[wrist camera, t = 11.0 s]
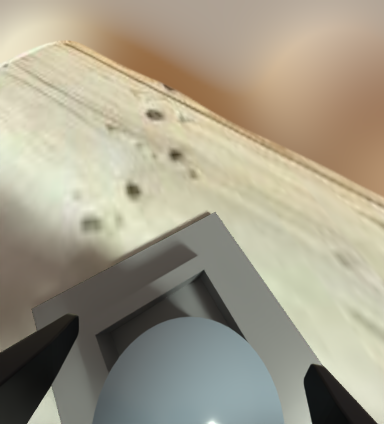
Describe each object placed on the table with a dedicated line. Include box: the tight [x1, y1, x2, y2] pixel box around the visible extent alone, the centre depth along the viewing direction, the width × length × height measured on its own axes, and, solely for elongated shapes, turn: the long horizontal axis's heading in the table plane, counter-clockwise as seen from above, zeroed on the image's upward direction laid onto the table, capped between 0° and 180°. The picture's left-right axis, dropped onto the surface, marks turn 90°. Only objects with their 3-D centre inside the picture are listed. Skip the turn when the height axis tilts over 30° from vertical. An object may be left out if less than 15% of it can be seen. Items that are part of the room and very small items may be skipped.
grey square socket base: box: [32, 212, 323, 424], centre depth 14 cm, size 16×16×4 cm
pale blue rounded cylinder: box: [92, 317, 284, 424], centre depth 10 cm, size 4×4×11 cm
